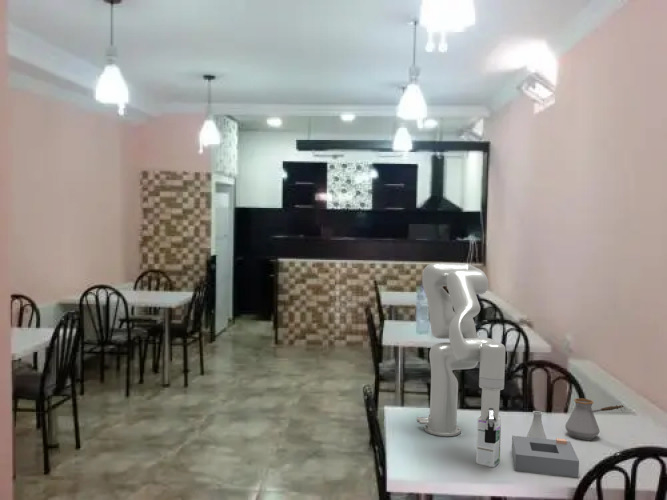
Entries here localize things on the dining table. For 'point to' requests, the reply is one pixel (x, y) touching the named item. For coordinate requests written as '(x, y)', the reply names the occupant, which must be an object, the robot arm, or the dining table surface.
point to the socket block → (545, 456)
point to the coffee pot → (585, 419)
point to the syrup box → (488, 445)
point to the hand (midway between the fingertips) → (489, 438)
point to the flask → (537, 427)
